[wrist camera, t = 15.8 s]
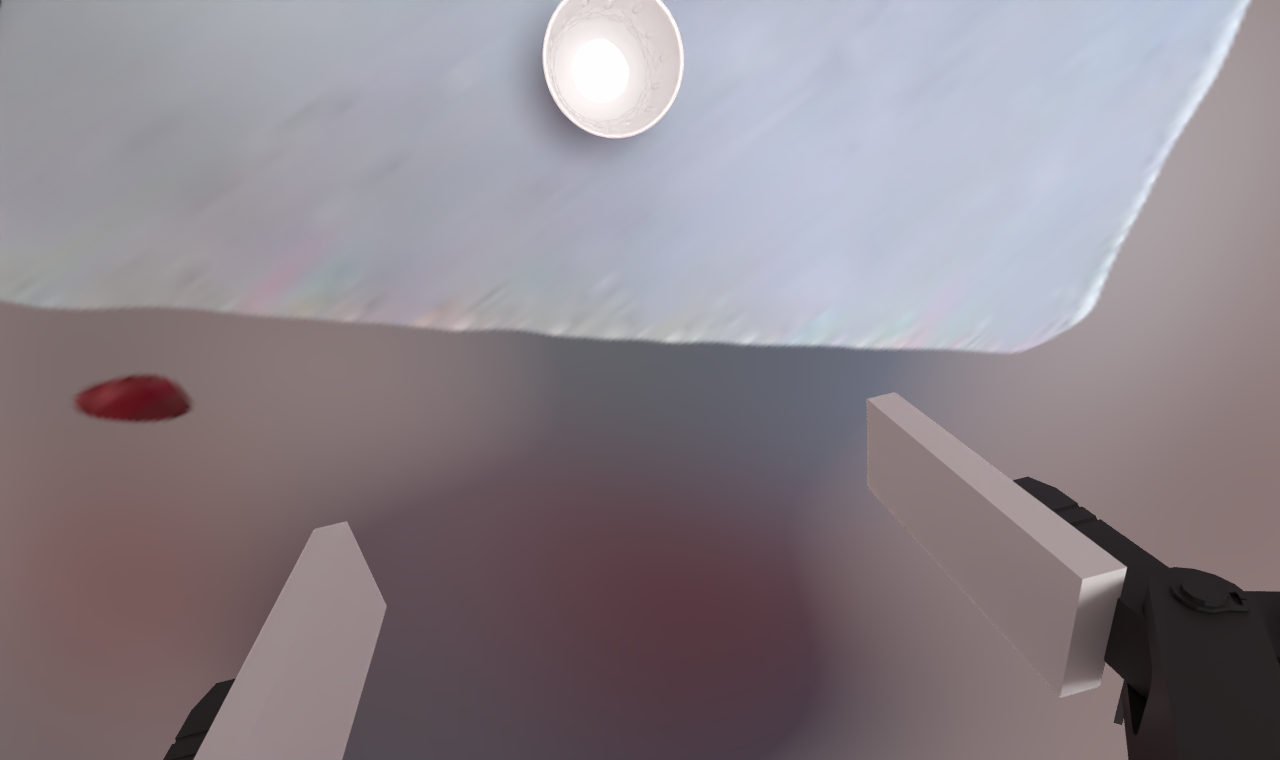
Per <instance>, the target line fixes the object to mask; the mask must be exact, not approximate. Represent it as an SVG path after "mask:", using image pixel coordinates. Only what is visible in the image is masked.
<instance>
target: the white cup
mask: <svg viewBox="0 0 1280 760" xmlns="http://www.w3.org/2000/svg"><path fill="white" fill-rule="evenodd" d="M542 59H543V70H544V75H545V79H546V83H547V86H548V88H549V91H550V93H551V95H552V97H553V99H554V101H555V103H556V104H557V106H558V107H559V109H560V110H561V111H562V112H563V114H564V115H565V116H566V117H567V118H568V119H569V120H570V121H571V122H573V123H574V124H575V125H577V126H578V127H579V128H581V129H583V130H585V131H586V132H589V133H591V134H593V135H596V136H600V137H605V138H626V137H631V136H634V135H637V134H640V133H642V132H644V131H646V130H647V129H649V128H651V127H652V126H653V125H655V124H656V123H657V122H658V121H659V120H660V119H661V118H662V117H663V116H664V115H665V114H666V113H667V111H668V110H669V109H670V107H671V106H672V104H673V102H674V100H675V98H676V96H677V94H678V91H679V88H680V85H681V81H682V77H683V69H684V51H683V44H682V39H681V35H680V32H679V29H678V27H677V24H676V22H675V20H674V18H673V16H672V14H671V13H670V11H669V10H668V8H667V7H666V6H665V4H664V3H663V2H662V1H661V0H562V1H561V2H560V4H559V5H558V6H557V8H556V9H555V11H554V13H553V15H552V16H551V19H550V21H549V23H548V26H547V29H546V32H545V36H544V42H543V52H542Z"/></svg>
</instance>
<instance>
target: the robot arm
mask: <svg viewBox="0 0 1280 760" xmlns="http://www.w3.org/2000/svg"><path fill="white" fill-rule="evenodd" d="M867 463H868V464H867V470H868V488H869V489H870V490H871V491H872V492H873V494H875V496H876V497H877V498H878V499H879V500H880V501H881V502H882V503H883V504H884V505H885V507H886V508H887V509H888V510H889V511H890V512H891V513H892V514H893V515H894V516H895V518H896V519H897V520H898V521H899V522H900V523H901V524H902V525H903V526H904V528H905V529H906V530H907V531H908V532H909V533H910V534H911V535H912V536H913V537H914V538H915V540H916V541H917V542H918V543H919V544H920V545H921V546H922V547H923V548H924V549H925V550H926V552H927V553H928V554H929V555H930V556H931V557H932V558H933V559H934V560H935V561H936V562H937V564H938V565H939V566H940V567H941V568H942V569H943V570H944V571H945V572H946V574H947V575H948V576H949V577H950V578H951V579H952V580H953V581H954V582H955V583H956V584H957V586H958V587H959V588H960V589H961V590H962V591H963V592H964V593H965V594H966V595H967V596H968V598H969V599H970V600H971V601H972V602H973V603H974V604H975V605H976V606H977V607H978V609H980V611H981V612H982V613H983V614H984V615H985V616H986V617H987V618H988V620H989V621H990V622H991V623H992V624H993V625H994V626H995V627H996V628H997V629H998V631H999V632H1000V633H1001V634H1002V635H1003V636H1004V637H1005V638H1006V639H1007V640H1008V641H1009V642H1010V644H1011V645H1012V646H1013V647H1014V648H1015V649H1016V650H1017V651H1018V652H1019V653H1020V654H1021V656H1022V657H1023V658H1024V659H1025V660H1026V661H1027V662H1028V663H1029V664H1030V666H1031V667H1032V668H1033V669H1034V670H1035V671H1036V672H1037V673H1038V674H1039V675H1040V676H1041V678H1042V679H1043V680H1044V681H1045V682H1046V683H1047V684H1048V685H1049V686H1050V687H1051V688H1052V690H1053V691H1054V692H1055V693H1056V694H1057V695H1058V696H1059V697H1060V698H1061V697H1065V696H1068V695H1072V694H1075V693H1079V692H1082V691H1085V690H1089V689H1093V688H1096V687H1099V686H1100V683H1101V679H1102V674H1103V670H1104V666H1105V662H1106V663H1107V664H1108V665H1109V666H1110V667H1112V668H1113V669H1114V670H1115V671H1116V672H1117V673H1118V674H1119V675H1120V676H1121V677H1122V678H1123V679H1124V683H1123V686H1122V690H1121V695H1120V698H1119V703H1118V706H1117V711H1116V715H1115V720H1114V723H1117V724H1121V725H1122V723H1123V719H1124V723H1125V732H1126V740H1127V749H1128V759H1129V760H1280V592H1266V591H1243V590H1242V589H1240V588H1239V587H1237V586H1236V585H1235V584H1233V583H1231V582H1229V581H1227V580H1225V579H1223V578H1221V577H1218V576H1216V575H1214V574H1210V573H1207V572H1203V571H1200V570H1196V569H1189V568H1178V567H1173V568H1169V567H1167V566H1166V565H1164V564H1163V563H1162V562H1160V561H1159V560H1157V559H1156V558H1155V557H1153V556H1152V555H1150V554H1149V553H1147V552H1146V551H1144V550H1143V549H1142V548H1140V547H1139V546H1137V545H1136V544H1134V543H1133V542H1132V541H1130V540H1129V539H1128V538H1126V537H1125V536H1123V535H1121V534H1120V533H1119V532H1117V531H1116V530H1115V529H1113V528H1112V527H1111V526H1109V525H1108V524H1106V523H1105V522H1103V521H1102V520H1097V518H1096V516H1095V515H1094V514H1092V513H1090V512H1089V511H1088V510H1086V509H1085V508H1083V507H1079V506H1078V503H1077V502H1075V501H1074V500H1072V499H1071V498H1069V497H1068V496H1067V495H1065V494H1063V493H1062V492H1061V491H1059V490H1058V489H1057V488H1055V487H1052V486H1050V485H1047V484H1045V483H1042V482H1040V481H1037V480H1035V479H1032V478H1030V477H1025V478H1021V479H1017V480H1013V481H1012V480H1011V479H1009V478H1008V477H1006V476H1005V475H1004V474H1003V473H1001V472H1000V471H999V470H997V469H996V468H995V467H993V466H992V465H991V464H989V463H988V462H987V461H985V460H984V459H983V458H982V457H980V456H979V455H978V454H976V453H975V452H974V451H972V450H971V449H969V448H968V447H967V446H966V445H964V444H963V443H962V442H960V441H959V440H958V439H956V438H955V437H954V436H952V435H951V434H950V433H948V432H947V431H946V430H944V429H943V428H942V427H940V426H939V425H938V424H936V423H935V422H934V421H932V420H931V419H930V418H928V417H927V416H926V415H924V414H923V413H922V412H921V411H919V410H918V409H916V408H915V407H914V406H913V405H911V404H910V403H908V402H907V401H906V400H904V399H903V398H902V397H901V396H899V395H898V394H897V393H895V392H894V393H890V394H886V395H881V396H877V397H873V398H869V399H867ZM386 607H387V606H386V604H385V602H384V600H383V598H382V595H381V593H380V591H379V589H378V587H377V585H376V583H375V580H374V579H373V576H372V574H371V572H370V570H369V568H368V565H367V563H366V561H365V559H364V557H363V555H362V553H361V550H360V548H359V546H358V544H357V542H356V540H355V538H354V536H353V534H352V531H351V529H350V527H349V525H348V523H347V522H342V523H338V524H334V525H329V526H325V527H321V528H317V529H314V531H313V532H312V534H311V536H310V538H309V540H308V542H307V544H306V546H305V547H304V549H303V551H302V553H301V555H300V557H299V559H298V561H297V563H296V565H295V567H294V569H293V571H292V572H291V574H290V576H289V578H288V580H287V582H286V584H285V586H284V588H283V590H282V592H281V593H280V596H279V597H278V599H277V601H276V603H275V605H274V607H273V609H272V611H271V612H270V614H269V616H268V618H267V620H266V622H265V624H264V626H263V628H262V630H261V632H260V634H259V635H258V637H257V639H256V641H255V643H254V645H253V647H252V649H251V651H250V653H249V654H248V656H247V658H246V660H245V662H244V664H243V666H242V668H241V670H240V672H239V674H238V676H237V677H236V679H232V680H228V681H224V682H220V683H216V684H215V686H214V687H213V688H212V689H211V690H210V691H209V692H208V693H207V694H206V695H205V696H204V697H203V699H202V700H201V701H200V702H199V703H198V704H197V705H196V706H195V707H194V708H193V709H192V710H191V712H190V714H189V715H188V718H187V719H186V721H185V723H184V725H183V726H182V728H181V730H180V731H179V733H178V735H177V736H176V738H175V739H176V742H175V744H172V745H171V747H170V749H169V751H168V752H167V754H166V756H165V758H164V759H163V760H342V758H343V754H344V751H345V747H346V744H347V740H348V737H349V734H350V730H351V727H352V723H353V720H354V716H355V713H356V709H357V706H358V703H359V699H360V696H361V693H362V689H363V686H364V682H365V679H366V675H367V672H368V669H369V665H370V662H371V658H372V655H373V652H374V648H375V645H376V641H377V638H378V634H379V631H380V627H381V624H382V621H383V617H384V614H385V610H386Z"/></svg>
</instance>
